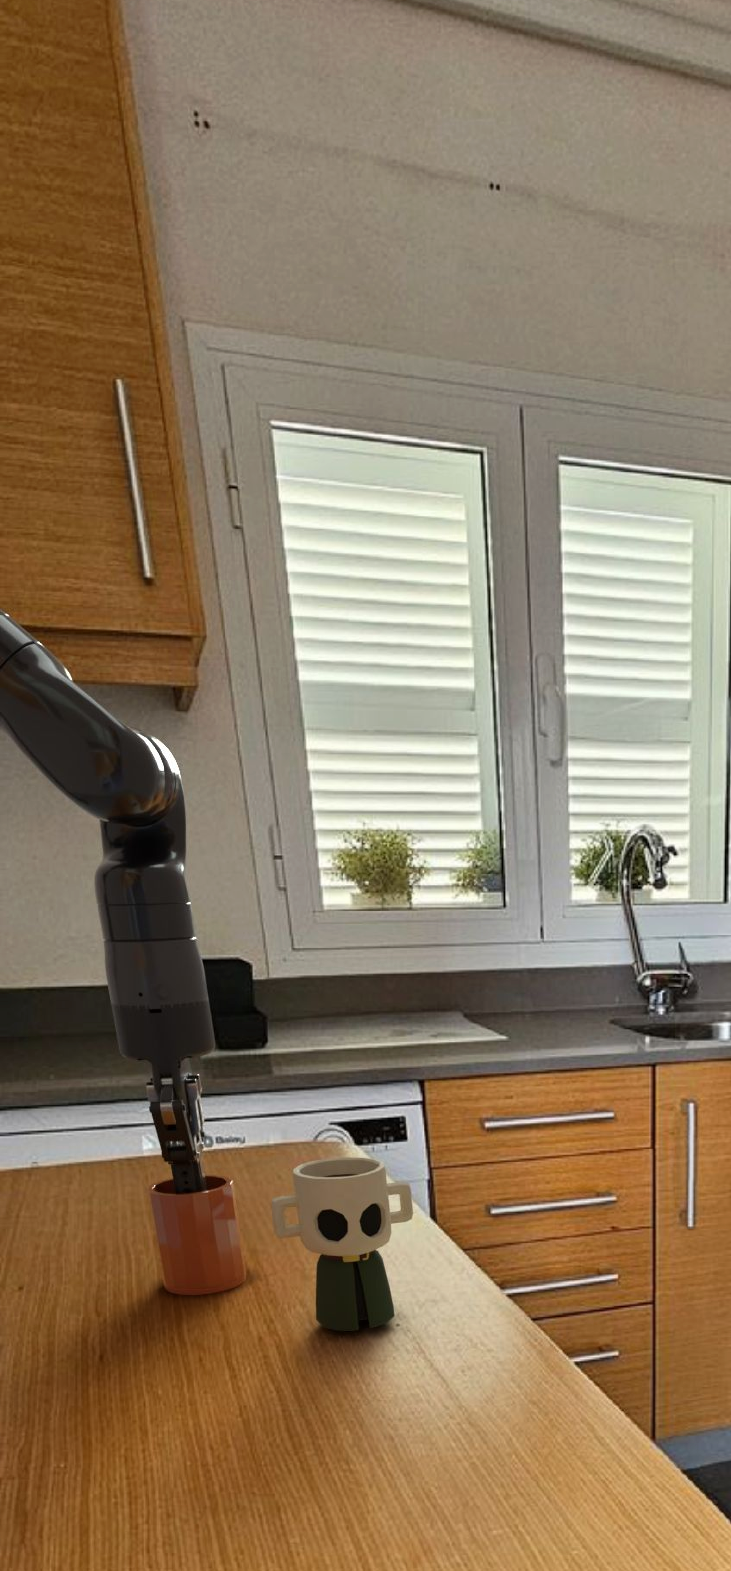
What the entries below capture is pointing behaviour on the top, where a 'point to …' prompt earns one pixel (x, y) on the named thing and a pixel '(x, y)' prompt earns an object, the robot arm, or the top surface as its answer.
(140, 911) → the robot arm
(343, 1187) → the character mug
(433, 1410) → the top surface
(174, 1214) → the tumbler
